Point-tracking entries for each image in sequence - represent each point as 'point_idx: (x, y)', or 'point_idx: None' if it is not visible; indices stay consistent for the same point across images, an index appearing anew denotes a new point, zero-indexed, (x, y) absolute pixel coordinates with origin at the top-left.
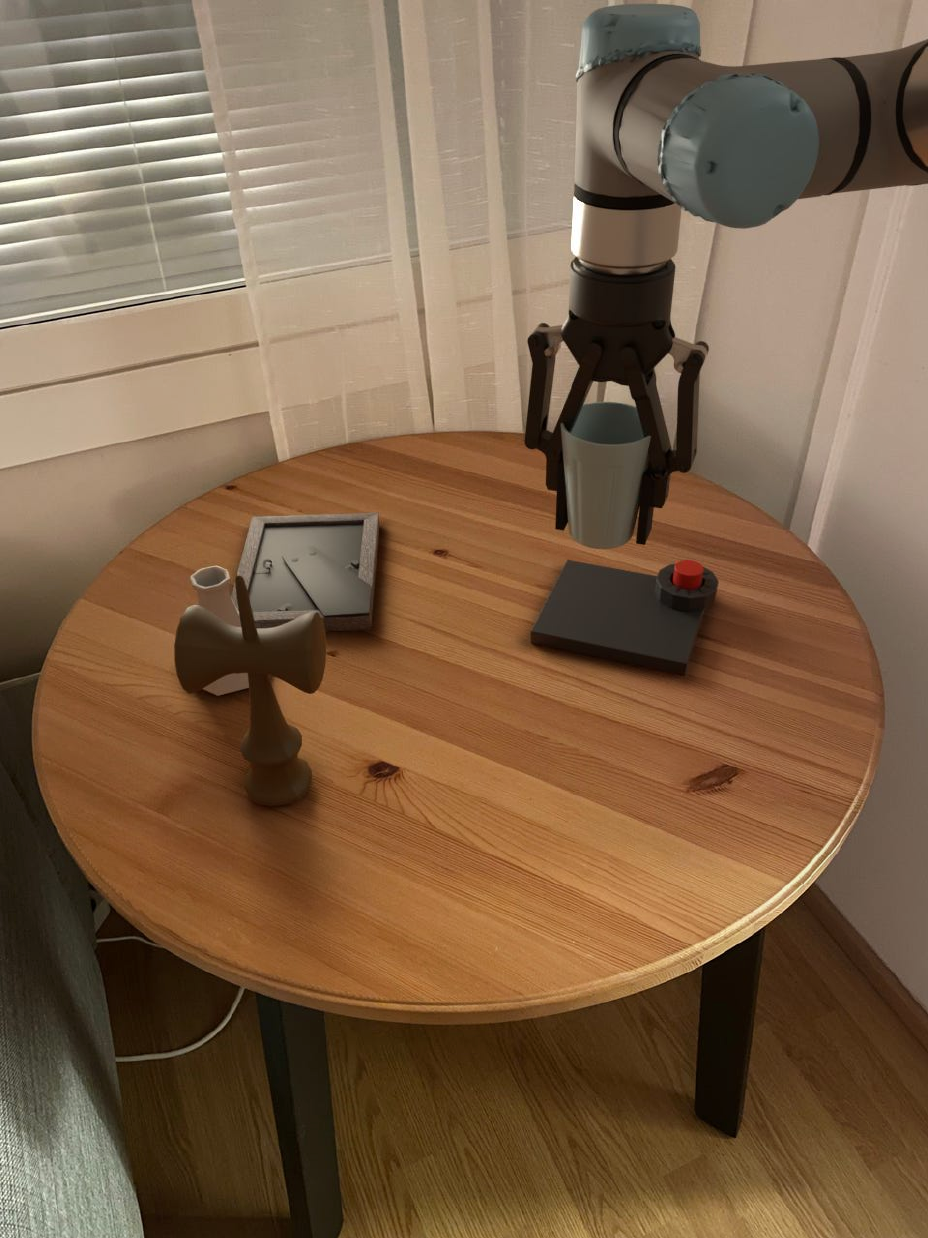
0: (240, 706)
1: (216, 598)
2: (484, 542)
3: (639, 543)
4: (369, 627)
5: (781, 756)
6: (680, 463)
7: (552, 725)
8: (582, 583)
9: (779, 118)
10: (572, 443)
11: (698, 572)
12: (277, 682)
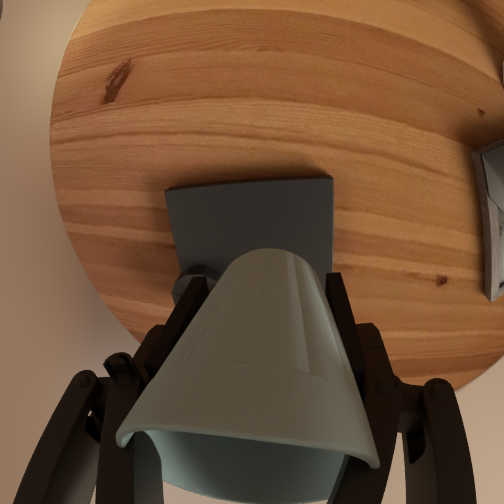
0: (495, 44)
1: None
2: (409, 308)
3: (200, 276)
4: (472, 151)
5: (85, 134)
6: (85, 384)
7: (260, 66)
8: None
9: None
10: (330, 422)
11: None
12: (493, 71)
